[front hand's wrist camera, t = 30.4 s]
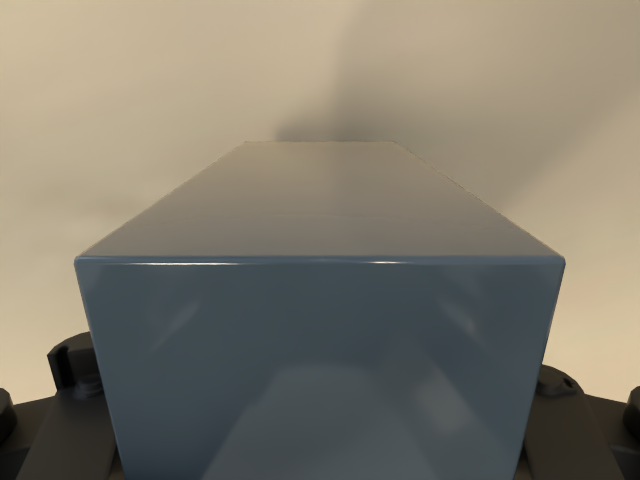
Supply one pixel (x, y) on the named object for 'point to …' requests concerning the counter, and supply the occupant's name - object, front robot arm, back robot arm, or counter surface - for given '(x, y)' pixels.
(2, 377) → the counter surface
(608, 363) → the counter surface
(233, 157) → the brick
